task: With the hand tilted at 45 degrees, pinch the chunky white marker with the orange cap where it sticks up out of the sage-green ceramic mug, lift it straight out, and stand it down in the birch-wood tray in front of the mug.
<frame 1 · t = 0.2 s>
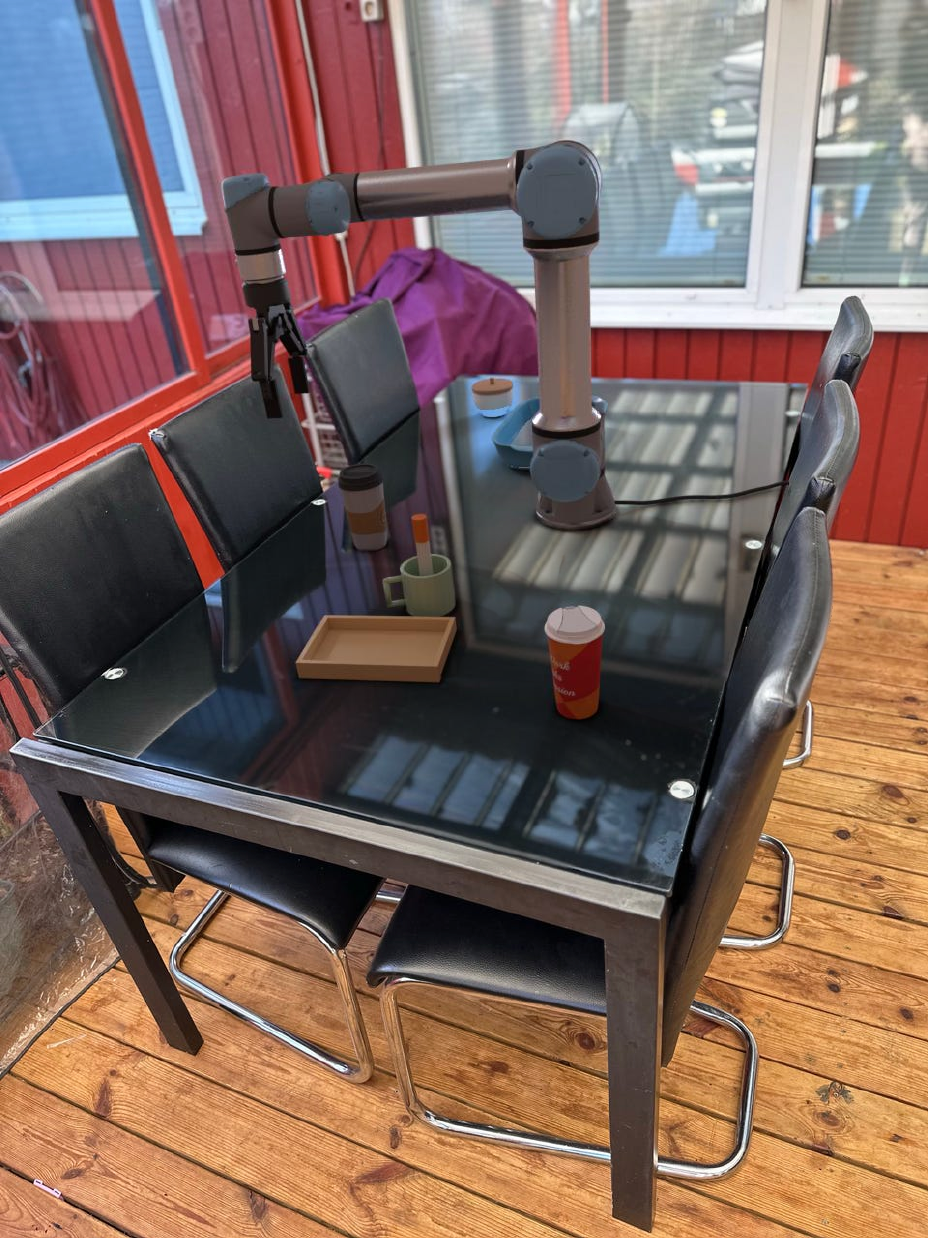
hand: (289, 405, 157), 28 cm above the table, tool pointing down, fingers open, 13 cm apart
marker: (430, 605, 146), point 1 cm above the table, touching mug
coffee cup: (371, 545, 170), on the table
trinket box: (494, 414, 230), on the table
tray: (380, 654, 136), on the table
mug: (431, 608, 146), on the table
casserole dish: (552, 449, 204), on the table
paper cup: (577, 708, 120), on the table
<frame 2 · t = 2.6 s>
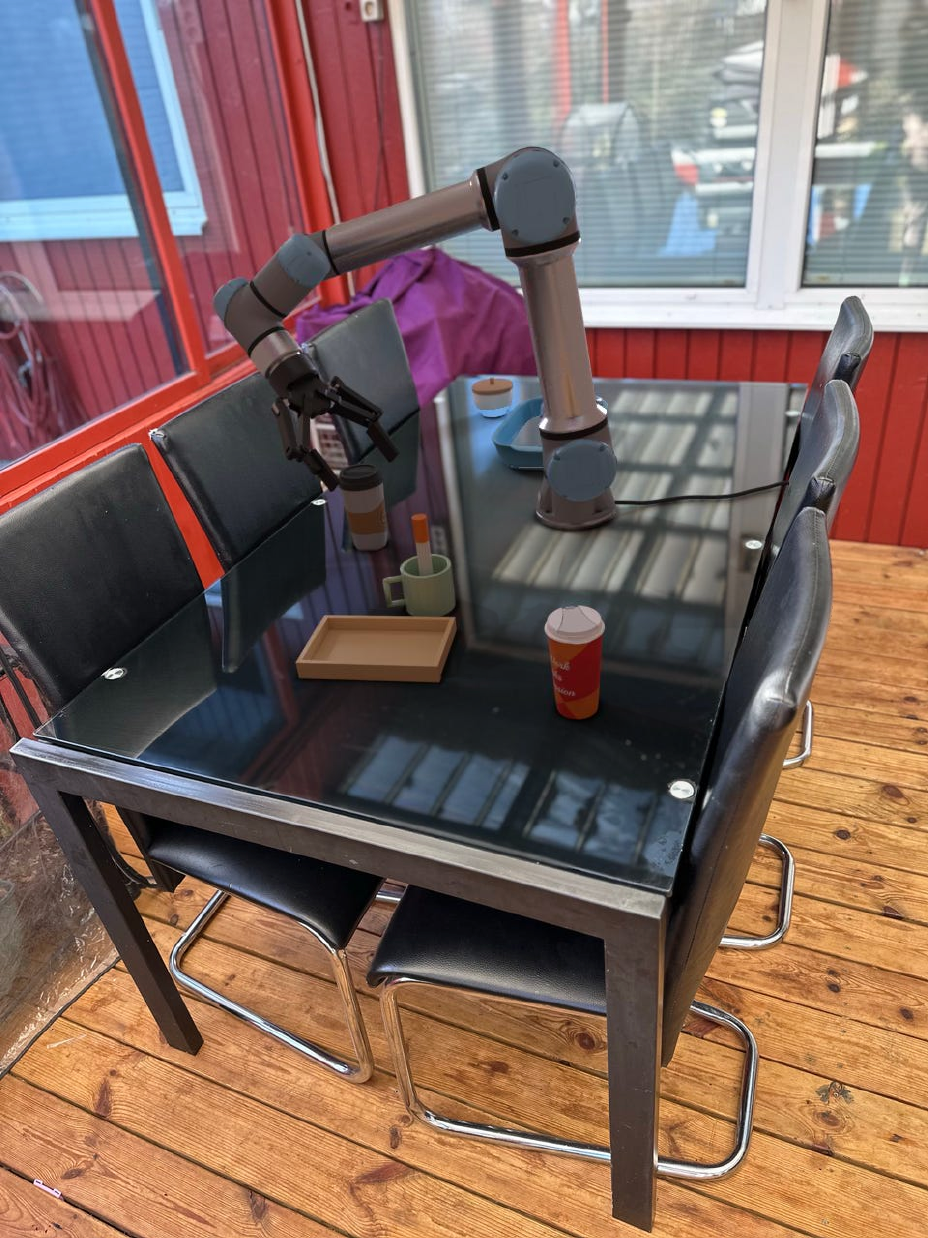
hand: (366, 472, 141), 22 cm above the table, tool tilted 45°, fingers open, 13 cm apart
nothing on the table moved.
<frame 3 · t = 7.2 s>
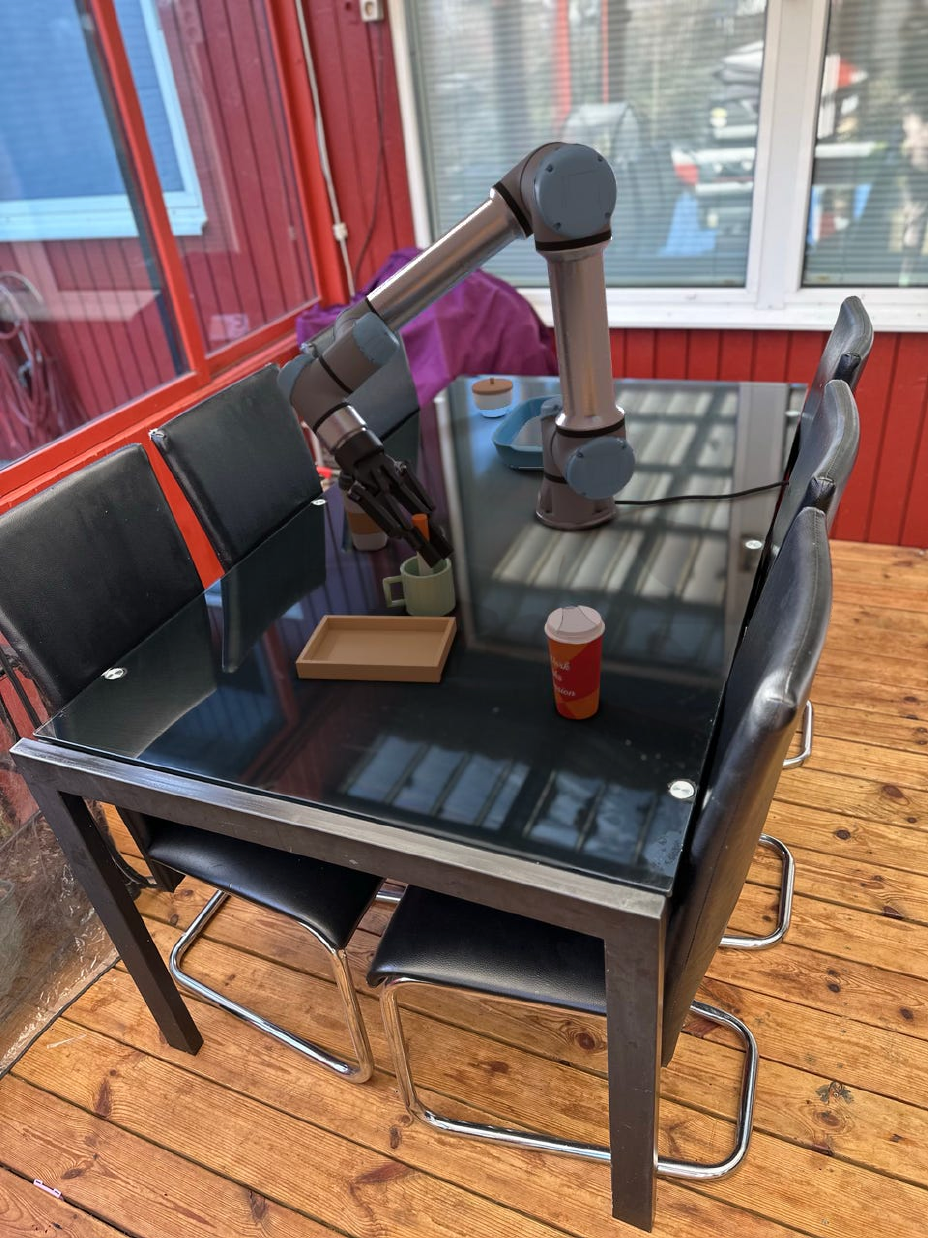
hand: (442, 559, 139), 10 cm above the table, tool tilted 45°, fingers closed on marker, 2 cm apart
marker: (430, 605, 146), point 1 cm above the table, touching gripper, mug
everything else where it was.
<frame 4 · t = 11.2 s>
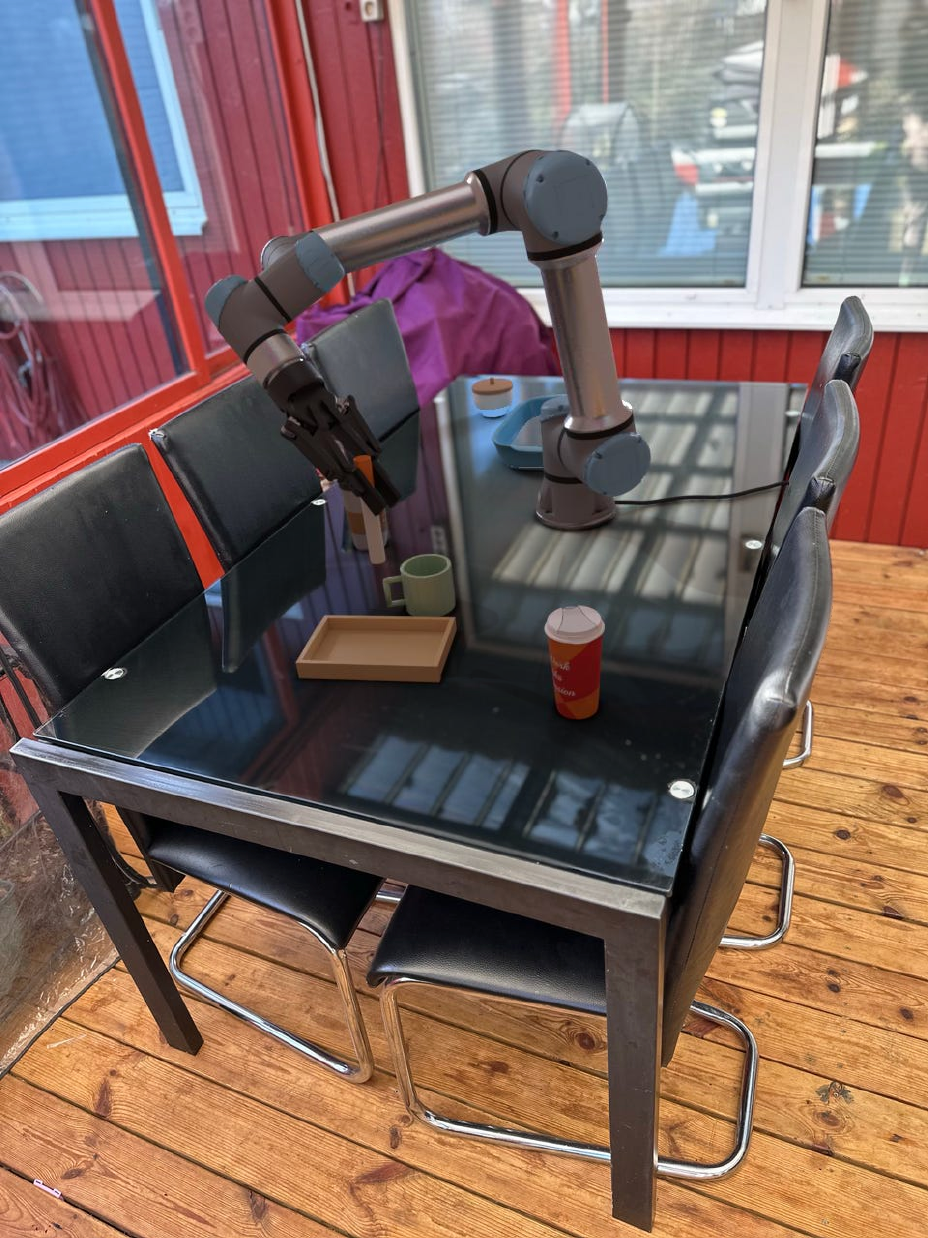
hand: (388, 506, 124), 24 cm above the table, tool tilted 45°, fingers closed on marker, 2 cm apart
marker: (378, 560, 131), point 15 cm above the table, touching gripper
everything else where it was.
when the fingers open (10 cm above the table, at t = 15.4 s): marker stays where it is, resting on tray.
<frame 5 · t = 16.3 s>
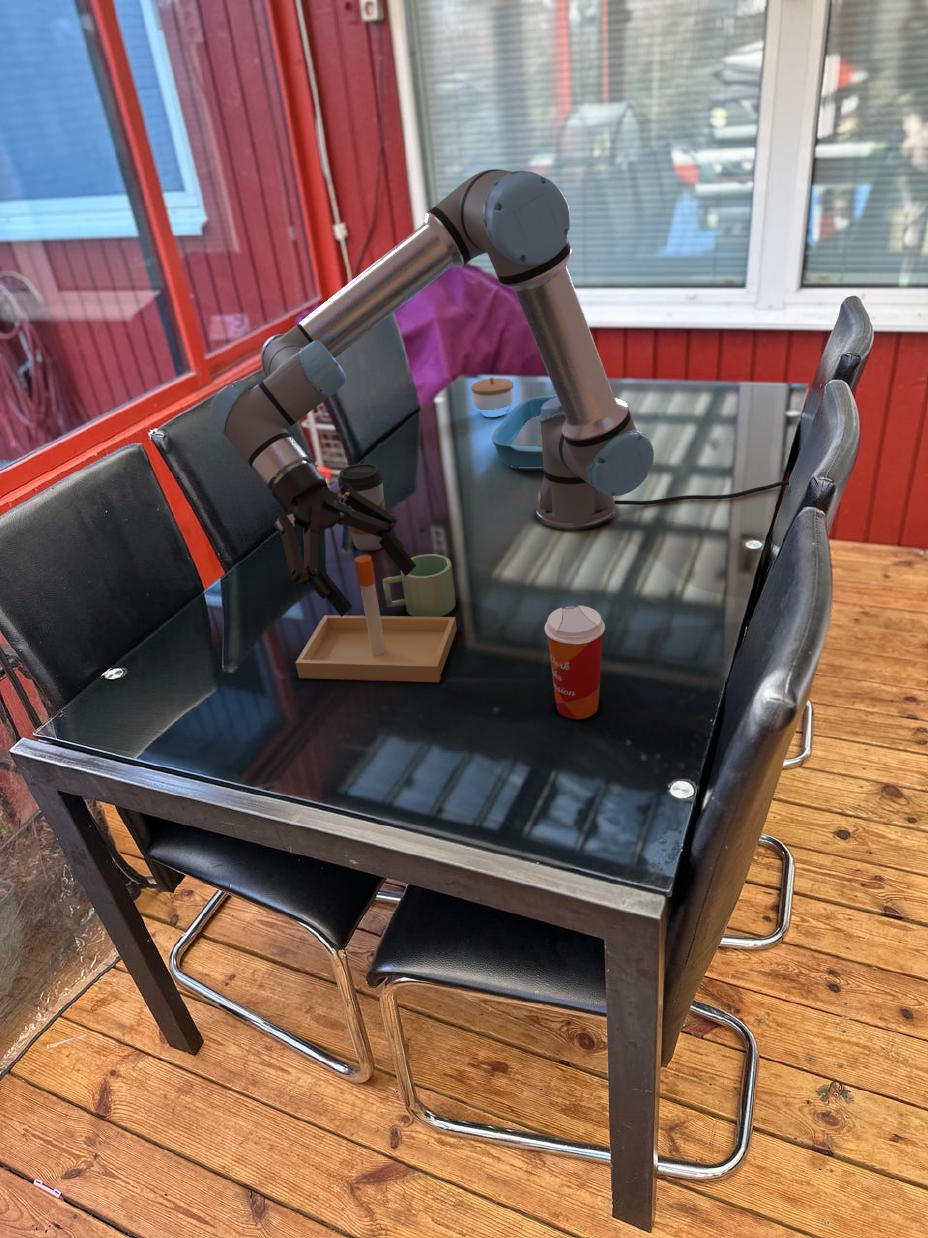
hand: (380, 590, 128), 12 cm above the table, tool tilted 45°, fingers open, 13 cm apart
marker: (378, 651, 135), point 1 cm above the table, touching tray
everything else where it was.
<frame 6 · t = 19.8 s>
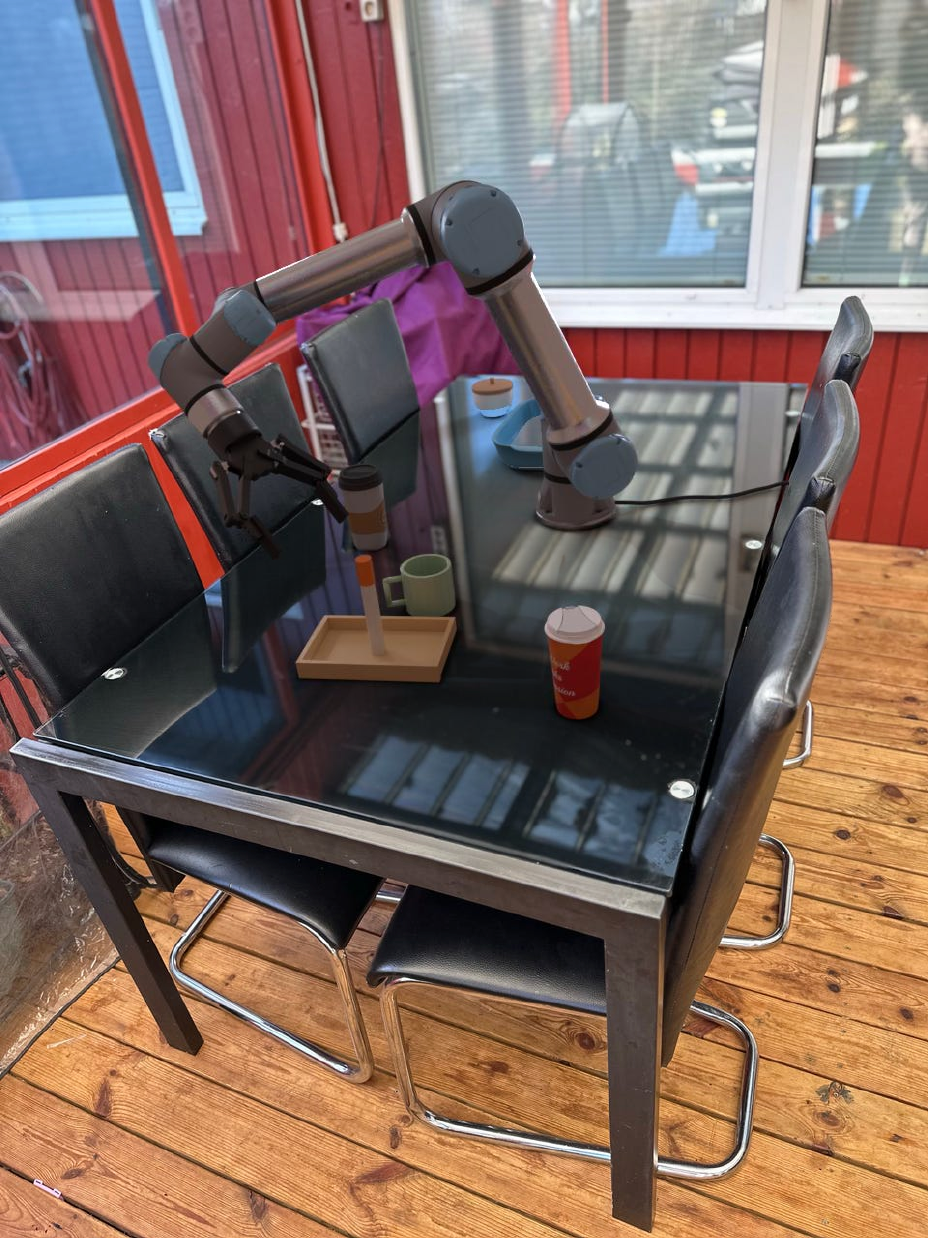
hand: (312, 536, 133), 18 cm above the table, tool tilted 45°, fingers open, 13 cm apart
nothing on the table moved.
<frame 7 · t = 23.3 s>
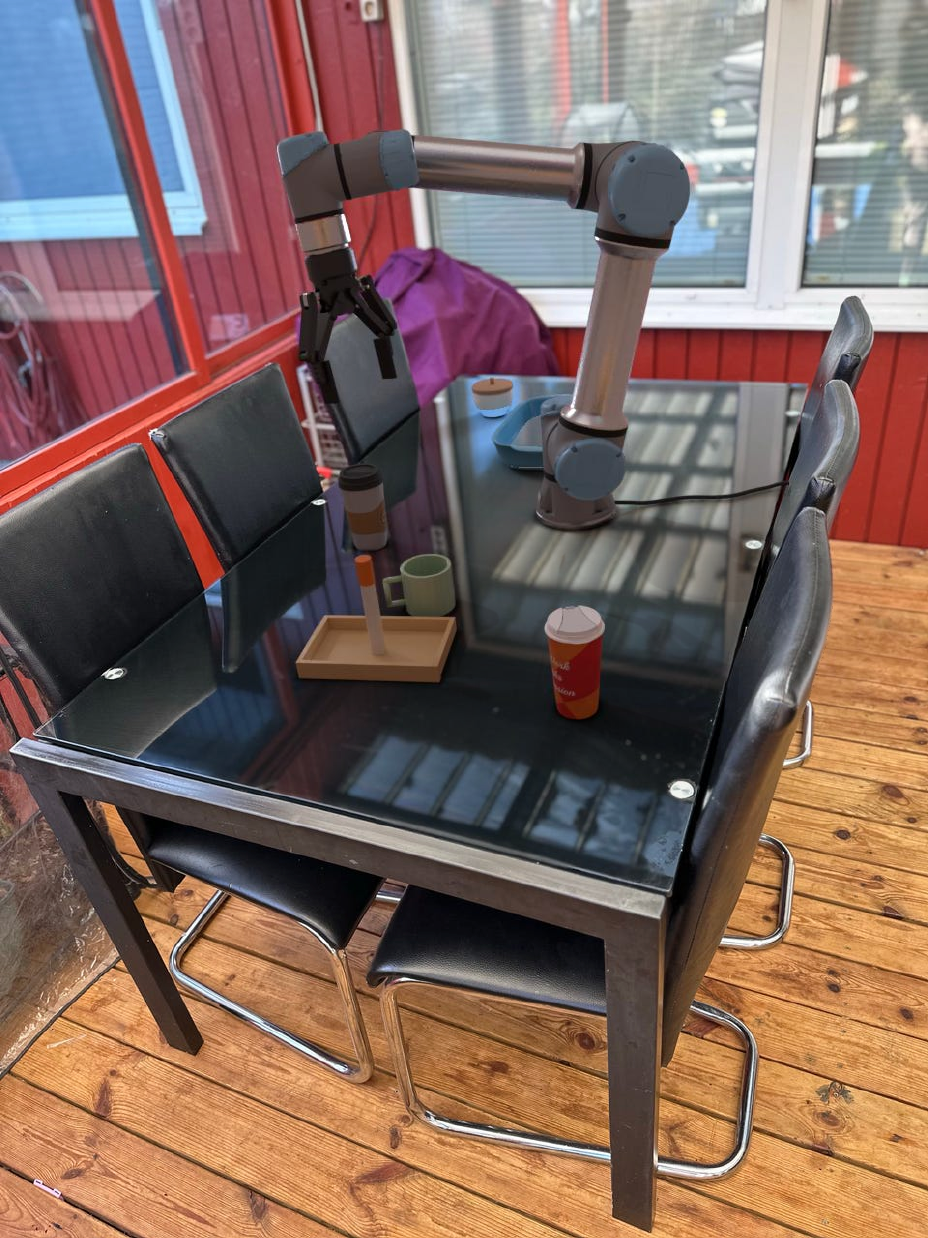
hand: (362, 390, 142), 33 cm above the table, tool pointing down, fingers open, 13 cm apart
nothing on the table moved.
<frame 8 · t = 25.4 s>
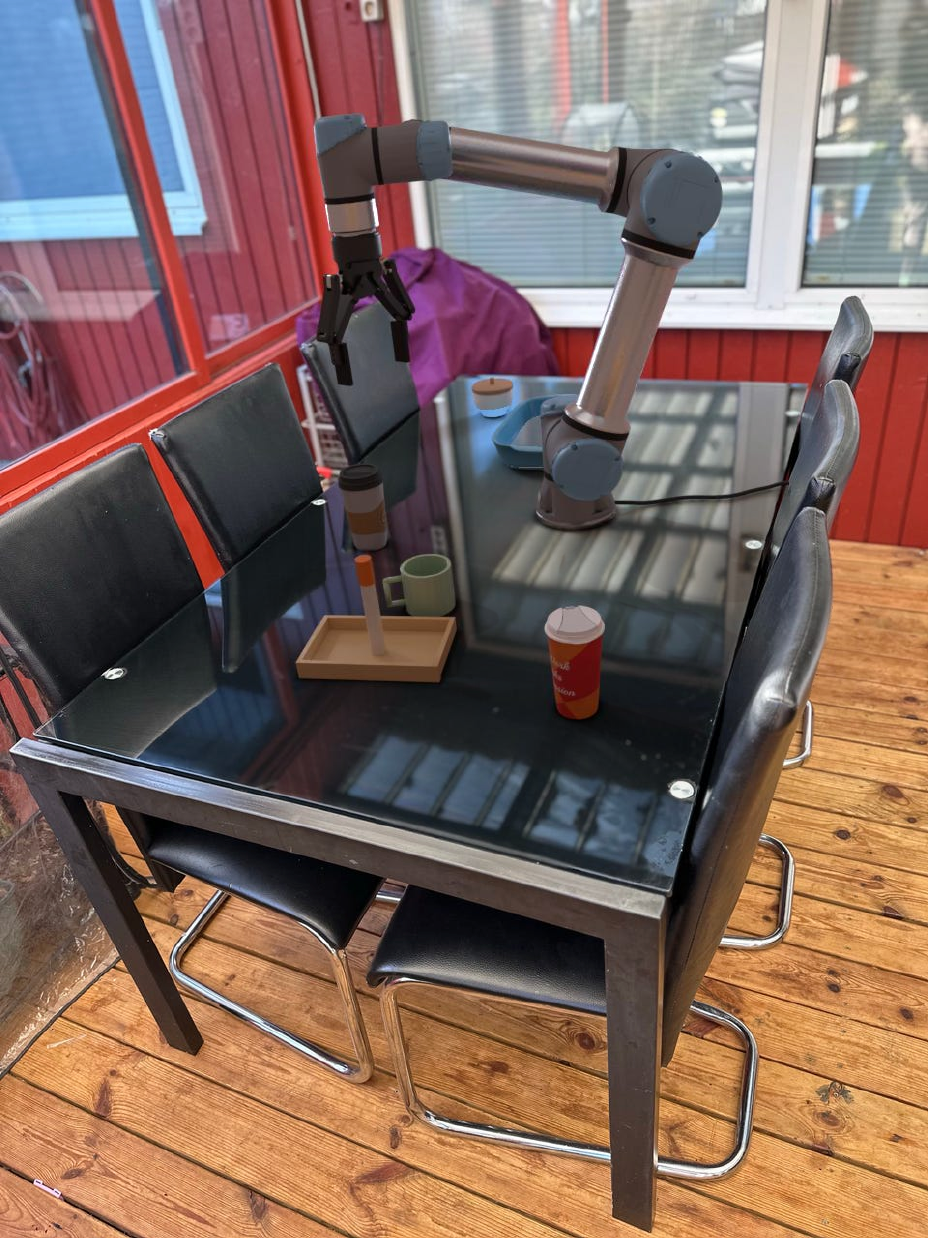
hand: (375, 372, 144), 35 cm above the table, tool pointing down, fingers open, 13 cm apart
nothing on the table moved.
at the end: marker inside the target area in the tray (0.1 cm from its centre), point 0.6 cm above the tray's base; the gripper is holding nothing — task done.
